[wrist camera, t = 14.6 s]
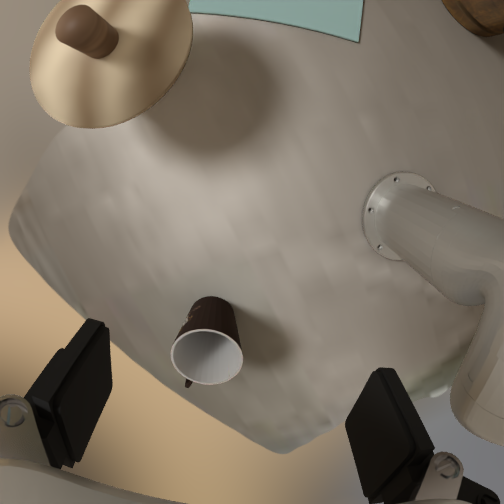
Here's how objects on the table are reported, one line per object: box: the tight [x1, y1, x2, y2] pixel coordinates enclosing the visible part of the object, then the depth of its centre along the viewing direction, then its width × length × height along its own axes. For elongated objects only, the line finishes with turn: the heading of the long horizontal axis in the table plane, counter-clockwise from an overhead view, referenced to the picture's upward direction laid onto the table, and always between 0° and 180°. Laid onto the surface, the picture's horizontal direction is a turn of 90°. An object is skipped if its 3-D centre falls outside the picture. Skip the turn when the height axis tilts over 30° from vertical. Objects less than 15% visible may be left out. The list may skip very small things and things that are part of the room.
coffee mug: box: [171, 296, 243, 388], centre depth 42 cm, size 12×9×10 cm
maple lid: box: [30, 0, 193, 129], centre depth 20 cm, size 17×17×7 cm
